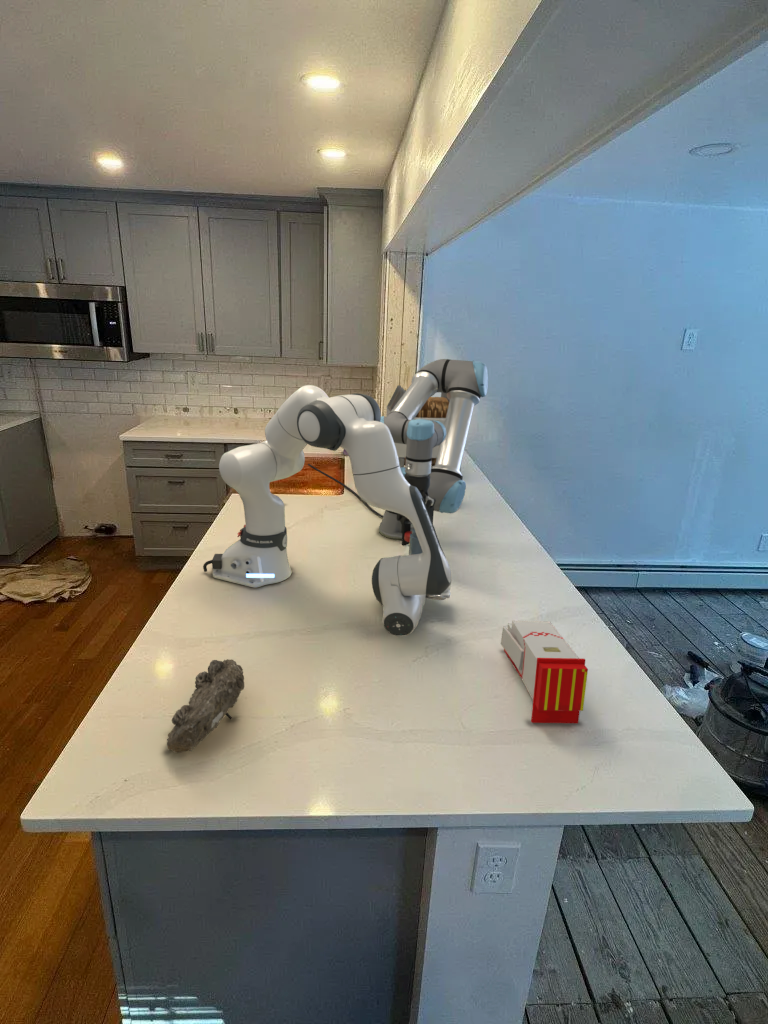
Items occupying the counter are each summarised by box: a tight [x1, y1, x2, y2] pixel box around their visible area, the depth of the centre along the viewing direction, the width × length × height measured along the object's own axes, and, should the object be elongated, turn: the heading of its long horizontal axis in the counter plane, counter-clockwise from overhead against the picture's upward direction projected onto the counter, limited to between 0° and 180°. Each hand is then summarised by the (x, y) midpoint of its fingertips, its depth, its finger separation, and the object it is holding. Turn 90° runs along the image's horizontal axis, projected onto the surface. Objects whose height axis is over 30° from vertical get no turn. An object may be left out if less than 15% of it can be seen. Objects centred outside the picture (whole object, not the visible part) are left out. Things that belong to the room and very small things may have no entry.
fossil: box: [166, 658, 245, 754], centre depth 106 cm, size 22×10×15 cm
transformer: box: [385, 384, 462, 472], centre depth 268 cm, size 34×33×41 cm
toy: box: [500, 620, 589, 724], centre depth 121 cm, size 12×13×30 cm
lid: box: [404, 531, 412, 542], centre depth 171 cm, size 5×5×2 cm
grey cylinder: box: [408, 529, 423, 555], centre depth 156 cm, size 5×5×19 cm
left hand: (416, 571), depth 157 cm, fingers closed on grey cylinder, 5 cm apart
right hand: (412, 547), depth 172 cm, fingers closed on lid, 5 cm apart
